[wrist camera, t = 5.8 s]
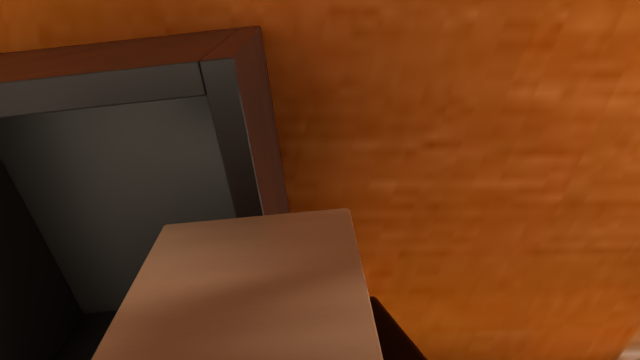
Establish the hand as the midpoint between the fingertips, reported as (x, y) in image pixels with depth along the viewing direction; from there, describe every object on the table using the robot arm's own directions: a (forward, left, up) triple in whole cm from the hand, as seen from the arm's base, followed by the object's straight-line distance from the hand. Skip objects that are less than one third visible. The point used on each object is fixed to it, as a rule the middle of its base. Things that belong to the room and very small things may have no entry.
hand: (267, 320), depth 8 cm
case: (+6, +2, -10) cm, 12 cm away
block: (0, 0, -1) cm, 1 cm away
